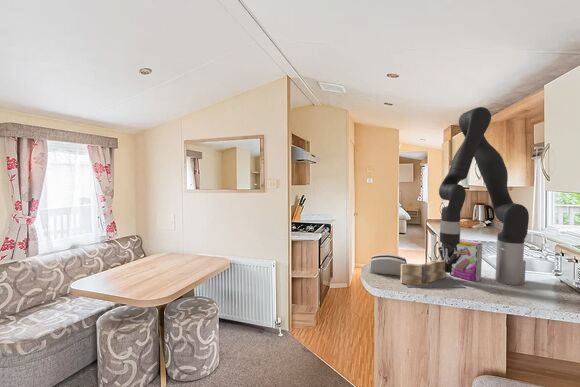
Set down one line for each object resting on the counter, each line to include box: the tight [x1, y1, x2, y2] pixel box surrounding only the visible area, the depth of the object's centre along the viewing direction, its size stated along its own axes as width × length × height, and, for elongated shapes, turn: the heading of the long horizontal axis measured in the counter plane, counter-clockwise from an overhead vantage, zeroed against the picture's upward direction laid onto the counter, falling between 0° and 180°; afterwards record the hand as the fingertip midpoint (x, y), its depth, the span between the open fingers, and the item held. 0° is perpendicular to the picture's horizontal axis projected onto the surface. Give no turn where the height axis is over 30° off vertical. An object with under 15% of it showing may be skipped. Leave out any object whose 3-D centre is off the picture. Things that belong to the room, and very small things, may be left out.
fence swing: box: [424, 259, 447, 283], centre depth 131 cm, size 13×2×8 cm, turn 121°
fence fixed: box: [400, 263, 427, 284], centre depth 127 cm, size 10×2×8 cm, turn 88°
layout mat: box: [396, 273, 467, 289], centre depth 133 cm, size 23×20×1 cm
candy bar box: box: [449, 238, 483, 283], centre depth 134 cm, size 11×5×16 cm, turn 34°
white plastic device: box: [369, 253, 408, 276], centre depth 139 cm, size 17×5×10 cm, turn 69°
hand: (448, 272), depth 129 cm, fingers closed
